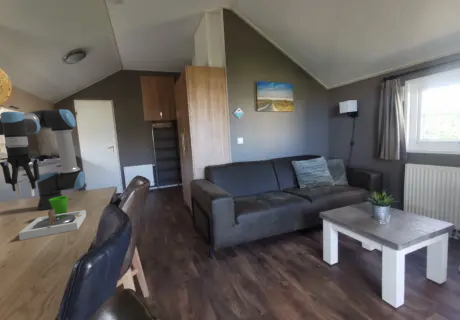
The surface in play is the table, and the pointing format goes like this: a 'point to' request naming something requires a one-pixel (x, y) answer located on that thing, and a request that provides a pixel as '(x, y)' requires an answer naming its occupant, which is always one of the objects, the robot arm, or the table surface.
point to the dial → (55, 219)
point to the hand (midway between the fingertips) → (26, 196)
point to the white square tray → (33, 232)
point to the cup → (59, 204)
